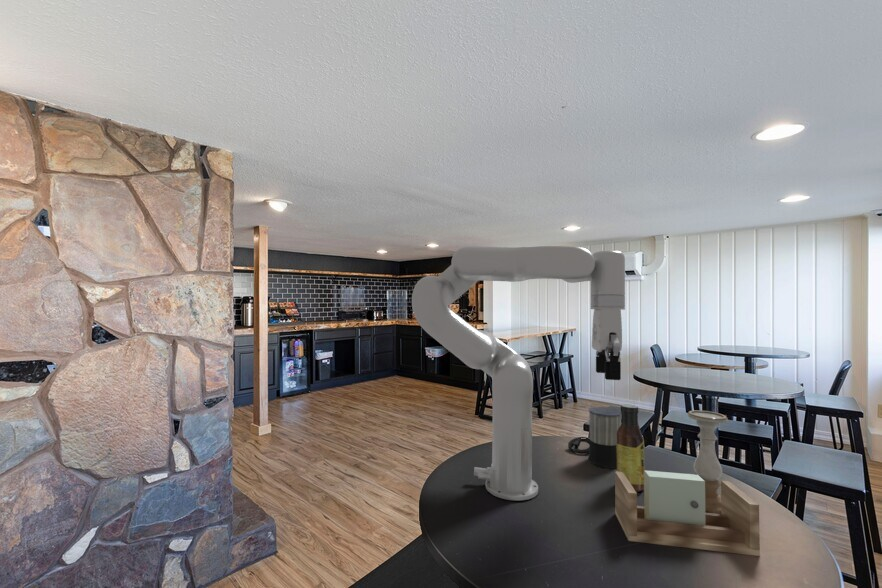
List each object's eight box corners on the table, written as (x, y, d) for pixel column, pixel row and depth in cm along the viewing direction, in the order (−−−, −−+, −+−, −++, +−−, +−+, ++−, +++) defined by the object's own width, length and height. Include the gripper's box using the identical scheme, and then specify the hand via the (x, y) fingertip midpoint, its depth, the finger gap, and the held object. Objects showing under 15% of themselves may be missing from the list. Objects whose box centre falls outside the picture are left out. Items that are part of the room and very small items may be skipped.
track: (628, 540, 74) (628, 492, 75) (615, 513, 84) (615, 471, 84) (759, 556, 70) (759, 504, 71) (729, 525, 80) (729, 481, 80)
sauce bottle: (648, 494, 93) (647, 410, 94) (620, 491, 95) (620, 408, 95) (640, 482, 100) (639, 403, 101) (614, 480, 101) (613, 402, 102)
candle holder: (707, 493, 94) (706, 408, 95) (742, 512, 86) (741, 418, 86) (676, 497, 92) (675, 410, 93) (709, 516, 84) (708, 420, 84)
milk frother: (621, 471, 107) (621, 416, 107) (562, 460, 114) (562, 409, 114) (624, 454, 119) (624, 405, 120) (570, 445, 126) (570, 399, 127)
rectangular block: (650, 529, 76) (650, 477, 77) (644, 520, 80) (644, 470, 80) (706, 535, 75) (706, 482, 75) (698, 525, 78) (697, 474, 78)
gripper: (584, 303, 102) (584, 369, 101) (598, 302, 85) (598, 381, 84) (615, 304, 101) (615, 371, 100) (635, 302, 84) (635, 383, 83)
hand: (607, 376), depth 92 cm, fingers open, 9 cm apart
